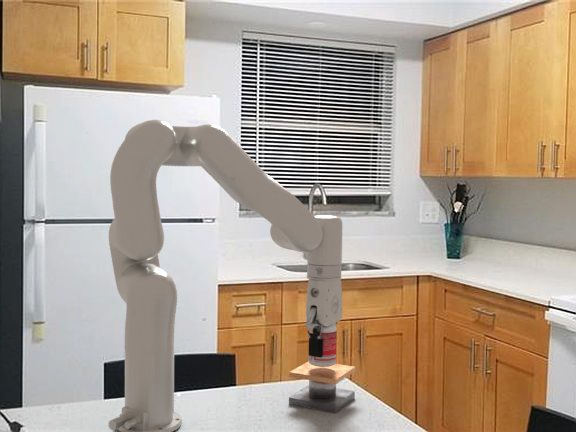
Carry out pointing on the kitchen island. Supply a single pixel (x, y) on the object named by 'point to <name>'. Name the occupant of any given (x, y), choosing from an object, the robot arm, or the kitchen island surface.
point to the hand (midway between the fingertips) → (322, 352)
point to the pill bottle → (326, 347)
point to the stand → (322, 387)
